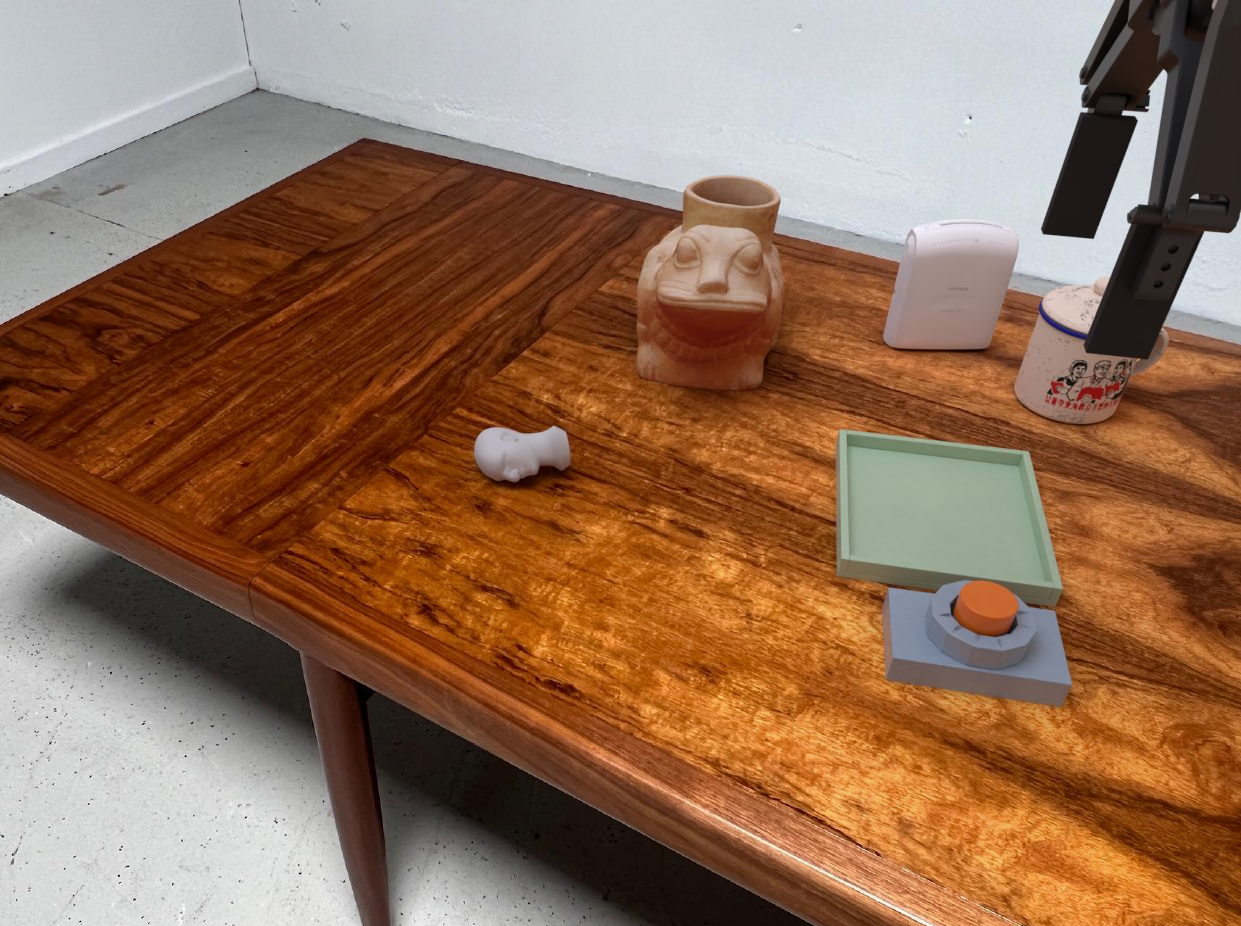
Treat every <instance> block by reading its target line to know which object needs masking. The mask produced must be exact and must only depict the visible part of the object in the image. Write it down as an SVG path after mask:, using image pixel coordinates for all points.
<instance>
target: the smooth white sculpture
mask: <svg viewBox="0 0 1241 926" xmlns="http://www.w3.org/2000/svg"><path fill="white" fill-rule="evenodd" d="M473 456H474V461H475V463H476V465H477V467H478V468H479V470H480V471H481V472H482V473H483V474H484V475H485V476H486V477H488V478H490V479H491V480H494V481H496V482H502V481H503V480H505V481H509V482H511V483H517V482H519V481H520V479H525V478H526V477H531V476H536V475H537V474H538V472H539V470H540V467H542V466H547V467H549V466H550V467H554V468H555V469H557V470H559V471H560V472H563V471H564V470H565V469H566V468H568V467H569V466H571V462H572V461H571V449H570V443H569V439H568V434H567V431H566V430H564V429H562V428H560V427H558V426H556V425H552V426H551V427H549V428H548V429H546V430H543V431H540V432H534V433H522V432H518V431H516V430H513V429H511V428H506V427H499V426H494V427H489V428H486V429H484V430H483V431H481V432H480V433H479V435H478V436H477V437H476V439H475V442H474V446H473Z"/></svg>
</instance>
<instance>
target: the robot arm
mask: <svg viewBox="0 0 1241 926" xmlns="http://www.w3.org/2000/svg"><path fill="white" fill-rule="evenodd" d="M1099 30H1100V31H1099V32H1098V35H1097V37H1096V39H1095V40H1094V43H1093V45H1092V47H1091V49H1090V51H1089V53H1088V55H1087V57H1086V60H1085V61H1084V63H1083V66H1082V67H1081V68H1080V70H1079V75H1078V77H1079V78H1078V79H1079V85H1080V86H1084V89H1083V91H1082V93H1081V97H1080V101H1081V108H1082V109H1087V111H1080V112H1079V114H1078V115H1079V116H1078V118H1077V121H1076V124H1075V127H1074V130H1073V132H1072V136H1071V138H1070V142H1069V144H1068V147H1067V152H1066V153H1065V156H1064V160H1063V162H1062V165H1061V168H1060V171H1059V174H1058V177H1057V180H1056V183H1055V186H1054V189H1053V192H1052V195H1051V197H1050V201H1049V203H1048V207H1047V209H1046V212H1045V215H1044V218H1043V222H1042V224H1041V227H1040V231H1041V233H1042V235H1043V236H1045V235H1046V236H1057V237H1066V238H1076V239H1077V238H1078V239H1088V240H1089V239H1090V240H1094V239H1095V236H1096V235H1097V232H1098V230H1099V227H1100V224H1101V221H1102V218H1103V215H1104V213H1105V210H1106V208H1107V205H1108V202H1109V199H1110V197H1111V194H1112V191H1113V189H1114V186H1115V184H1116V181H1117V178H1118V175H1119V173H1120V170H1121V168H1122V165H1123V162H1124V159H1125V157H1126V154H1127V151H1128V149H1129V146H1130V143H1131V140H1132V138H1133V135H1134V132H1135V130H1136V127H1137V126H1138V122H1139V120H1138V118H1137V117H1136V115H1128V114H1126V115H1125V114H1123V113H1124V112H1135V113H1136V112H1137V113H1148V112H1149V111H1150V108H1148V107H1150V101H1151V95H1150V93H1151V89H1150V88H1151V87H1152V85H1153V84H1154V83H1155V81H1156V80H1157V79H1158V77H1159V76H1160V75H1161V74H1162V72H1163V71H1165V72H1166V82H1165V89H1164V95H1163V101H1162V109H1161V114H1160V122H1159V127H1158V135H1157V141H1156V147H1155V153H1154V160H1153V166H1152V172H1151V180H1150V187H1149V192H1148V200H1147V204H1141V203H1138V204H1137V206H1135V207H1133V208H1132V209H1131V210H1129V212H1127V213H1126V222H1127V223H1128V224H1129V225H1130V226H1129V227H1128V231H1127V233H1126V236H1125V238H1124V241H1123V243H1122V246H1121V249H1120V251H1119V253H1118V256H1117V259H1116V261H1115V264H1114V266H1113V269H1112V272H1111V274H1110V276H1109V278H1110V279H1109V281H1108V284H1107V286H1106V289H1105V291H1104V294H1103V297H1102V299H1101V302H1100V304H1099V307H1098V309H1097V312H1096V314H1095V317H1094V319H1093V322H1092V324H1091V327H1090V330H1089V332H1088V335H1087V337H1086V340H1085V342H1084V345H1083V346H1084V349H1085V351H1086V353H1090V354H1100V355H1109V356H1118V357H1127V358H1136V359H1137V360H1140V359H1146V360H1148V358H1149V356H1150V354H1151V351H1152V349H1153V347H1154V345H1155V342H1156V340H1157V338H1158V336H1159V333H1160V331H1161V329H1162V328H1163V326H1164V324H1165V322H1166V321H1167V317H1168V315H1169V313H1170V310H1171V308H1172V307H1173V303H1174V302H1175V299H1176V297H1177V295H1178V292H1179V290H1180V287H1182V283H1183V281H1184V279H1185V277H1186V274H1187V273H1188V270H1189V268H1190V265H1191V264H1192V261H1193V259H1194V256H1195V254H1196V252H1197V250H1198V248H1199V245H1200V243H1201V241H1202V238H1203V236H1204V234H1205V232H1208V233H1219V234H1230V233H1232V232H1233V231H1234V230H1235V229H1236V228H1237V226H1238V222H1239V221H1240V218H1241V0H1114V1H1113V3H1112V6H1111V7H1110V10H1109V12H1108V14H1107V15H1106V18H1105V20H1104V21H1103V24H1102V26H1101V28H1100V29H1099ZM1196 195H1198V198H1193V196H1196Z"/></svg>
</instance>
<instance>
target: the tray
mask: <svg viewBox="0 0 1241 926" xmlns="http://www.w3.org/2000/svg"><path fill="white" fill-rule="evenodd" d="M834 447H835V520H836V521H835V529H836V530H835V535H836V536H835V542H836V546H835V547H836V548H835V549H836V554H835V555H836V577H838V578H844V579H845V578H846V579H853V580H858V581H859V580H860V581H868V582H873V583H874V582H875V583H882V584H889V585H895V586H903V587H910V588H917V589H925V590H931V591H938V590H939V589H940V588H941V587H942V586H943V585H946V584H950V583H954V582H958V581H963V580H969V581H989V582H993V583H996V584H999V585H1001V586H1003V587H1005V588H1007V589H1008V590H1009V591H1011V592H1012V593H1013V594H1015V595H1017V596H1018V597H1019V598H1020V599H1021V600H1022V601H1023V602H1024V603H1025V604H1032V605H1038V606H1045V607H1053V608H1055V607H1056V606H1057V604H1058V602H1059V599H1060V597H1061V595H1062V593H1063V590H1064V587H1063V584H1062V583H1063V582H1062V579H1061V575H1060V574H1061V573H1060V571H1059V566H1058V562H1057V558H1056V554H1055V550H1054V546H1053V543H1052V538H1051V534H1050V529H1049V526H1048V522H1047V518H1046V515H1045V510H1044V506H1043V502H1042V498H1041V495H1040V490H1039V486H1038V483H1037V478H1036V473H1035V470H1034V466H1033V461H1032V457H1031V454H1030V451H1029V450H1021V449H1013V448H1005V447H996V446H995V447H994V446H988V445H978V444H969V443H963V442H952V441H945V440H937V439H936V440H935V439H929V438H928V439H927V438H921V437H920V438H919V437H910V436H901V435H893V434H884V433H876V432H868V431H860V430H859V431H858V430H851V429H850V430H849V429H844V428H843V429H842V428H839V430H838V434H837V438H836V441H835V446H834Z"/></svg>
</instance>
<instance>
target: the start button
mask: <svg viewBox="0 0 1241 926" xmlns="http://www.w3.org/2000/svg"><path fill="white" fill-rule="evenodd" d="M1018 608H1019V604H1018V600H1017V598H1016V597H1015V595H1014V594H1013V593H1012V592H1011V591H1009V590H1008V589H1007V588H1005V587H1003V586H1001V585H999V584H996V583H993V582H989V581H973V582H969V583H967V584H966V585H964V586H963V587H962V589H961V591H960V593H959V596H958V599H957V602H956V604H955V607H954V616H955V619H956V620H957V622H958V623H959V624H960V625H961V626H962V627H964V628H966V629H968V630H970V631H972V632H974V633H976V634H978V635H983V636H990V637H997V636H1001V635H1003V634H1005V633H1007V632H1008V631H1009V630H1010V628H1011V625H1012V623H1013V621H1014V618H1015V616H1016V613H1017V611H1018Z"/></svg>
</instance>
